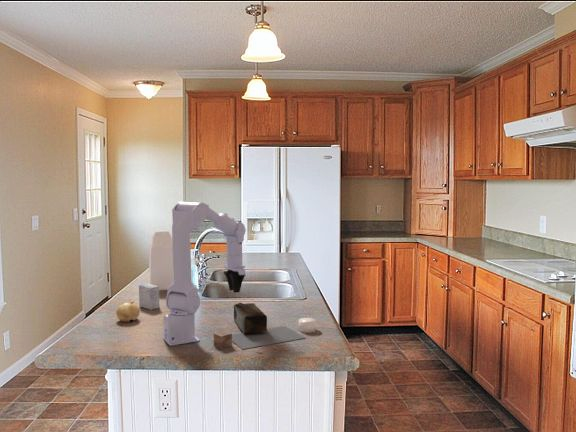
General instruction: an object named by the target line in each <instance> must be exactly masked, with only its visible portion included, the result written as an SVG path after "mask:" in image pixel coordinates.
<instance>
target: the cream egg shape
mask: <svg viewBox="0 0 576 432" xmlns="http://www.w3.org/2000/svg"><path fill="white" fill-rule="evenodd" d="M316 331H317V320H316V318H312V317H302V318H299V319H298V332H300V333H305V334H312V332H313V333H316Z"/></svg>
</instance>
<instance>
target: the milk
mask: <svg viewBox="0 0 576 432" xmlns="http://www.w3.org/2000/svg"><path fill="white" fill-rule="evenodd" d="M148 260H149V261H148V263H149V264H148V265H149V266H148V284H152V285H155V286H158V287H159V291H163V290H164V291H165V290H166V291H167V288H168V287H169V286H171V285H172V284H173V283H174V268H173V242H172V234H171V233H170V231H169V230H155V231H154V233H153V235H152V237H151V241H150V244H149V259H148Z"/></svg>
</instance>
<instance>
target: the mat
mask: <svg viewBox="0 0 576 432" xmlns="http://www.w3.org/2000/svg"><path fill="white" fill-rule="evenodd" d="M303 339H306V337H305V336H303V335H302V334H300V333H298V332H296V331H294V330H292V329H291V328H289V327H287V326H286V325H283V326H277V327H270V328H267V332H266V333H261V334H246V335H245V334H244V333H243V332H241V333H240V332H239V333H232V344H235V345H236V346H237V347H239V348H240V349H241V350H247V349H248V350H249V349H253V348H260V347H264V346H270V345H275V344H276V345H277V344H282V343H287V342H292V341H297V340H303Z"/></svg>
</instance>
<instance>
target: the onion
mask: <svg viewBox="0 0 576 432" xmlns="http://www.w3.org/2000/svg"><path fill="white" fill-rule="evenodd" d="M115 313H116V317H117V319H118V320H119V321H120V322H121V323H122V322H123V323H129V322H130V321H136V320H137V319H138V318H139V316H140V308H139V306H138V305H137V304H136V303H134V300H131V299H129V301H128V302H124V303H122V304H121V305H119V306H118V307H117V309H116V312H115Z"/></svg>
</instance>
